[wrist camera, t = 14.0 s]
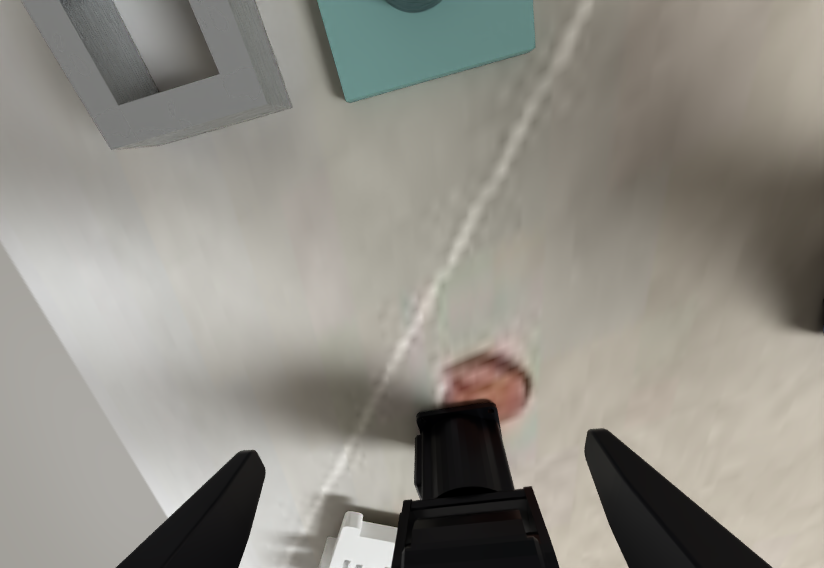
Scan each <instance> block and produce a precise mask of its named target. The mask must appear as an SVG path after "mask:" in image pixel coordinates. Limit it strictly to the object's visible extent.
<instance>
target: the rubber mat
mask: <svg viewBox="0 0 824 568" xmlns="http://www.w3.org/2000/svg"><path fill="white" fill-rule="evenodd" d="M317 2H318V5H319V9H320V12H321V16H322V19H323V23H324V26H325V30H326V33H327V37H328V40H329V44H330V47H331V51H332V54H333V58H334V61H335V65H336V68H337V71H338V75H339V78H340V82H341V85H342V89H343V92H344V96H345V99H346V102H349V103H351V102H355V101H358V100H362V99H365V98H369V97H372V96H376V95H379V94H383V93H386V92H390V91H394V90H397V89H401V88H404V87H408V86H411V85H415V84H418V83H422V82H425V81H429V80H432V79H436V78H440V77H443V76H447V75H450V74H454V73H457V72H461V71H464V70H468V69H471V68H475V67H479V66H482V65H486V64H489V63H493V62H496V61H500V60H503V59H507V58H510V57H514V56H517V55H521V54H525V53H528V52H530V51H531V50H533V49H534V48H535V31H534V13H533V0H442V1H441V2H440V3H439V4H438V5H436V6H435V7H433V8H431V9H429V10H427V11H424V12H420V13H408V12H404V11H400V10H398V9H396V8H394V7H393V6H391V5H390V4H389V3H387V2H386V1H385V0H317Z"/></svg>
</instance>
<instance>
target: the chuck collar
mask: <svg viewBox="0 0 824 568" xmlns="http://www.w3.org/2000/svg"><path fill="white" fill-rule="evenodd" d="M21 2H22V3H23V5H24V7H25V8H26V10H27V12H28V13H29V15H30V17H31V18H32V20H33V21H34V23H35V25H36V26H37V28H38V30H39V31H40V33H41V35H42V36H43V38H44V40H45V41H46V43H47V45H48V46H49V48H50V50H51V51H52V53H53V55H54V56H55V58H56V60H57V61H58V63H59V65H60V66H61V68H62V69H63V71H64V73H65V74H66V76H67V78H68V79H69V81H70V83H71V84H72V86H73V88H74V89H75V91H76V93H77V94H78V96H79V98H80V99H81V101H82V103H83V104H84V106H85V108H86V109H87V111H88V113H89V114H90V116H91V117H92V119H93V121H94V122H95V124H96V126H97V127H98V129H99V131H100V132H101V134H102V136H103V137H104V139H105V141H106V142H107V144H108V146H109V147H110V149H111V150H115V149H128V148H140V147H152V146H160V145H164V144H167V143H171V142H174V141H178V140H181V139H185V138H188V137H192V136H195V135H198V134H202V133H205V132H209V131H212V130H216V129H219V128H223V127H226V126H230V125H233V124H237V123H240V122H244V121H247V120H251V119H254V118H258V117H261V116H265V115H268V114H271V113H275V112H278V111H282V110H285V109H289V108H292V105H291V102H290V99H289V96H288V93H287V90H286V88H285V85H284V82H283V79H282V76H281V73H280V71H279V68H278V65H277V62H276V59H275V56H274V54H273V51H272V48H271V45H270V42H269V40H268V37H267V34H266V31H265V28H264V25H263V23H262V20H261V17H260V14H259V11H258V8H257V6H256V3H255V0H189V3H190V5H191V8H192V10H193V12H194V15H195V17H196V19H197V22H198V24H199V26H200V29H201V31H202V33H203V36H204V38H205V41H206V43H207V45H208V48H209V50H210V52H211V55H212V57H213V59H214V62H215V64H216V66H217V69H218V71H219V74H218V75H215V76H211V77H208V78H205V79H202V80H199V81H195V82H192V83H189V84H186V85H183V86H179V87H176V88H173V89H170V90H167V91H163V92H160V93H159V92H158V90H157V88H156V86H155V84H154V82H153V80H152V78H151V76H150V74H149V72H148V70H147V68H146V66H145V64H144V62H143V60H142V58H141V56H140V54H139V52H138V50H137V48H136V46H135V44H134V42H133V40H132V38H131V36H130V35H129V33H128V31H127V29H126V27H125V25H124V23H123V21H122V19H121V17H120V15H119V13H118V11H117V9H116V7H115V5H114V3H113V1H112V0H21Z"/></svg>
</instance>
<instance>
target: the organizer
mask: <svg viewBox="0 0 824 568" xmlns="http://www.w3.org/2000/svg"><path fill="white" fill-rule="evenodd" d="M362 520H363V515H362V514H361V513H359V512H354V511H348V512H346V513H345V516H344V519H343V522H342V525H341V528H340V531H339V534H338V537H337V538H334V537H327V541H326V544H325V547H324V551H323V554H322V557H321V560H320V564H319V567H318V568H391V564H392V558H393V553H394V547H395V541H396V535H397V529H398V528H397V527H392V526H386V525H381V524H376V523H370V522H365V521H362Z"/></svg>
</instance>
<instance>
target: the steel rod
mask: <svg viewBox="0 0 824 568" xmlns="http://www.w3.org/2000/svg"><path fill="white" fill-rule="evenodd" d="M385 1H386V2H387V3H389V4H390V5H391V6H393V7H394V8H396V9H398V10H400V11H404V12H408V13H420V12H424V11H427V10H429V9H431V8H433V7H435V6H436V5H438V4H439V3H440V2H441V1H442V0H385Z"/></svg>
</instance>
